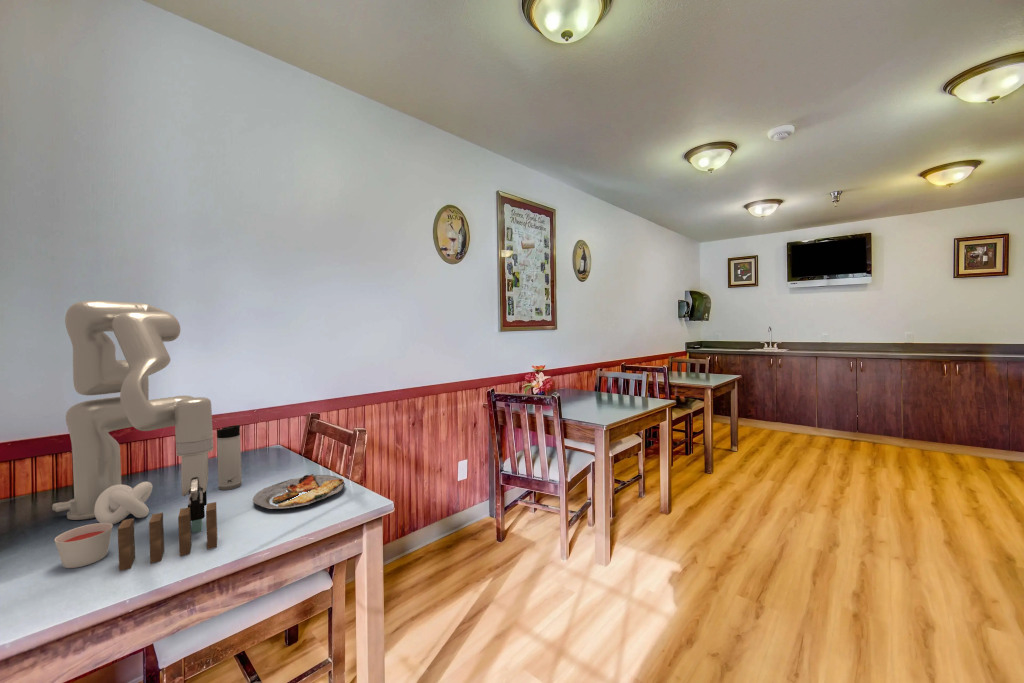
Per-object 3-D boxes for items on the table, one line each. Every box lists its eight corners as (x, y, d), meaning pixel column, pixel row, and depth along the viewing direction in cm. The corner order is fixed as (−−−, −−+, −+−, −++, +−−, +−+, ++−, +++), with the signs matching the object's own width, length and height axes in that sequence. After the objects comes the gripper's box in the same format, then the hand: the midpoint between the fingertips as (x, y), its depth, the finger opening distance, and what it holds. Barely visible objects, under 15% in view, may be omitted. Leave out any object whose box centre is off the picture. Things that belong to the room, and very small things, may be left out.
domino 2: (150, 563, 91) (148, 522, 90) (154, 553, 95) (152, 514, 94) (161, 560, 92) (159, 520, 91) (164, 551, 96) (162, 512, 95)
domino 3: (179, 556, 93) (178, 516, 93) (181, 546, 97) (180, 508, 97) (189, 553, 94) (188, 514, 94) (191, 544, 98) (190, 507, 98)
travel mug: (234, 490, 132) (232, 427, 132) (213, 490, 132) (211, 428, 132) (247, 483, 139) (245, 423, 138) (227, 483, 139) (225, 423, 138)
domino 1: (119, 571, 88) (117, 529, 88) (124, 560, 92) (122, 520, 92) (130, 568, 89) (129, 526, 89) (135, 557, 93) (133, 518, 93)
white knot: (164, 515, 115) (163, 482, 115) (106, 533, 105) (104, 498, 104) (147, 506, 121) (146, 476, 121) (90, 523, 110) (89, 490, 110)
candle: (124, 548, 97) (123, 522, 97) (86, 571, 88) (85, 541, 88) (85, 550, 97) (83, 523, 96) (42, 572, 88) (41, 543, 87)
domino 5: (207, 549, 96) (205, 511, 96) (208, 540, 100) (207, 503, 100) (216, 547, 97) (215, 509, 97) (217, 538, 101) (216, 501, 101)
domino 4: (192, 533, 104) (191, 497, 104) (193, 525, 108) (192, 491, 108) (201, 531, 105) (200, 495, 105) (202, 523, 109) (201, 489, 109)
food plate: (315, 476, 144) (315, 466, 144) (360, 489, 132) (360, 478, 132) (237, 504, 123) (237, 492, 122) (283, 523, 111) (282, 510, 110)
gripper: (179, 442, 111) (182, 505, 112) (172, 457, 97) (175, 529, 97) (214, 437, 115) (217, 498, 116) (211, 451, 101) (214, 520, 101)
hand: (198, 512), depth 106 cm, fingers open, 9 cm apart
